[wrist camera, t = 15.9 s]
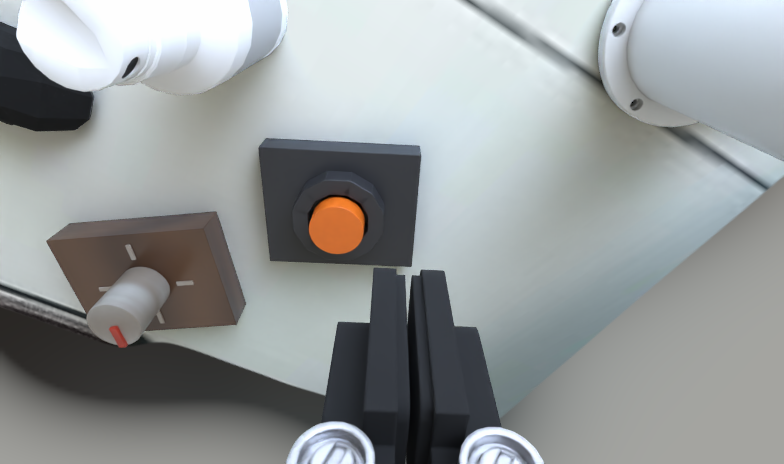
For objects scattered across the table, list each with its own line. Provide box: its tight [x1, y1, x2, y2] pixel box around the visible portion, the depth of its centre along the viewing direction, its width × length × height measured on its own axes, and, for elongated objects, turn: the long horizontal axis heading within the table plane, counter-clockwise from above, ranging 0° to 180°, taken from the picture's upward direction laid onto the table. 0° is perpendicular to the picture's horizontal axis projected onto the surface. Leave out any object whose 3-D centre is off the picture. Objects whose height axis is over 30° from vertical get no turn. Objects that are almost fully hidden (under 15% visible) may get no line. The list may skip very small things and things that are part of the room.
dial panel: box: [46, 212, 246, 331], centre depth 39 cm, size 13×10×3 cm
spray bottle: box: [16, 0, 288, 95], centre depth 22 cm, size 7×7×18 cm
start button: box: [309, 197, 365, 254], centre depth 33 cm, size 4×4×2 cm
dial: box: [87, 267, 170, 348], centre depth 35 cm, size 4×4×5 cm
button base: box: [259, 138, 421, 267], centre depth 35 cm, size 12×10×4 cm
